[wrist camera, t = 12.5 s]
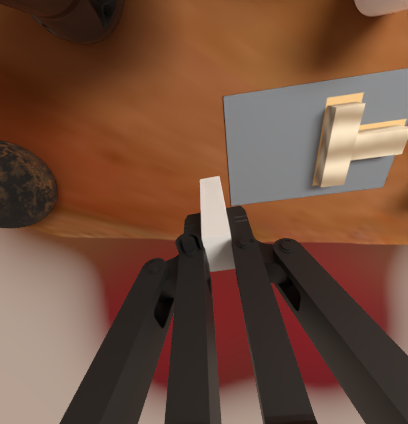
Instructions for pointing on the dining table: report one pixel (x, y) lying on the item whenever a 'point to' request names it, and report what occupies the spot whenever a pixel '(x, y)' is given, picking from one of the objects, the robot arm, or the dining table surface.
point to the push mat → (305, 135)
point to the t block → (353, 142)
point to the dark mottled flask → (24, 187)
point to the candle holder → (380, 6)
